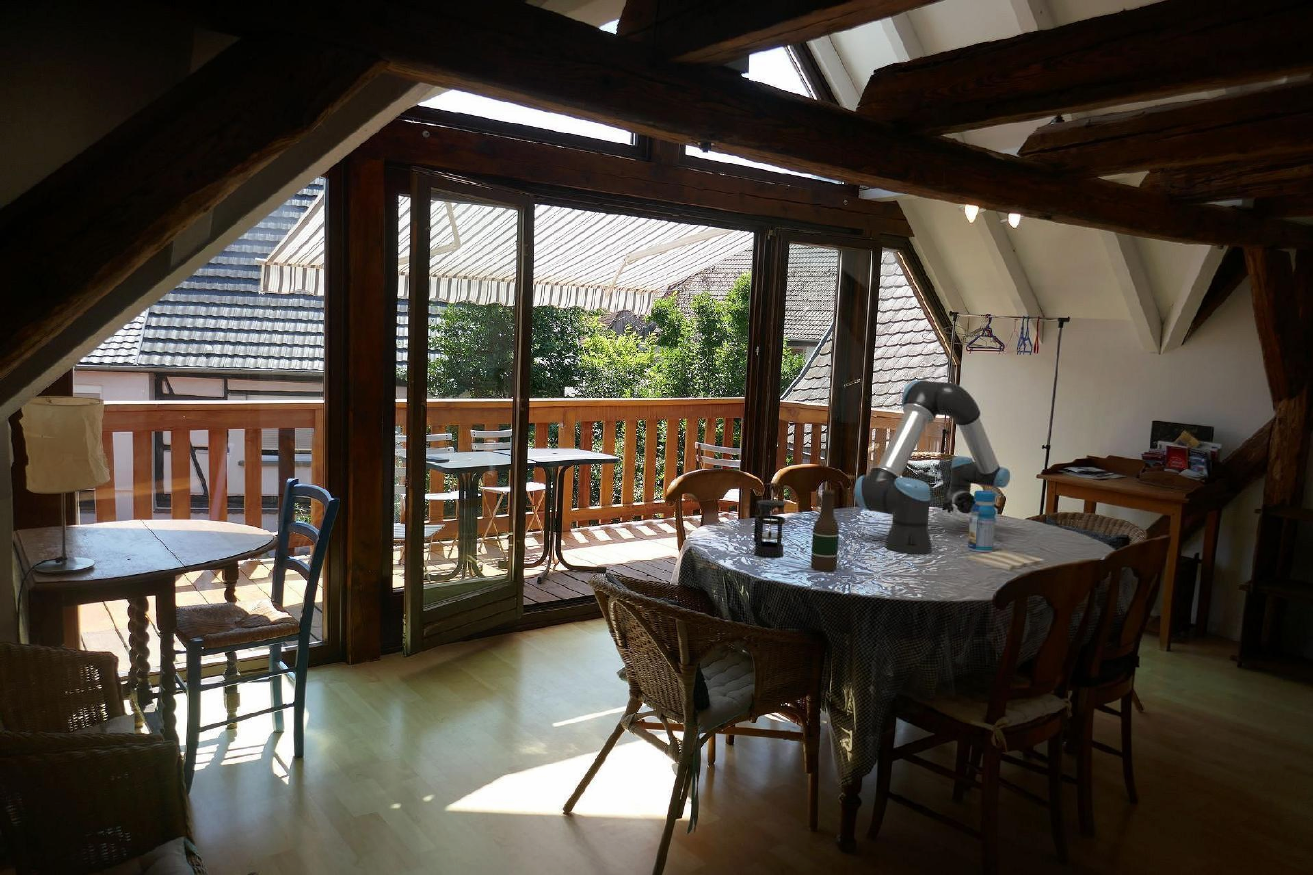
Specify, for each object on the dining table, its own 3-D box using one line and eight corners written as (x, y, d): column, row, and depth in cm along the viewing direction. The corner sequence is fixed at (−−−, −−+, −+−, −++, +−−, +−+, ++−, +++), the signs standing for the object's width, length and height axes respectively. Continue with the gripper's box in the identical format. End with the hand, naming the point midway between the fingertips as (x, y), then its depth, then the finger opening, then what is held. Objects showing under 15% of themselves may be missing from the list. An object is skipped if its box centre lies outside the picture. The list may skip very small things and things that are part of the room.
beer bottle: (805, 568, 288) (810, 489, 286) (820, 564, 294) (825, 487, 291) (826, 573, 283) (831, 493, 280) (841, 569, 288) (846, 490, 286)
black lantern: (791, 556, 302) (795, 484, 300) (769, 559, 297) (773, 486, 294) (765, 549, 312) (769, 479, 309) (744, 552, 306) (748, 481, 304)
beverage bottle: (986, 554, 318) (991, 494, 316) (962, 549, 324) (967, 491, 322) (997, 550, 324) (1002, 492, 322) (974, 546, 330) (978, 489, 328)
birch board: (1009, 569, 297) (1009, 566, 297) (967, 559, 309) (967, 556, 309) (1043, 562, 309) (1044, 559, 309) (1002, 553, 321) (1002, 550, 321)
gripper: (998, 514, 354) (1012, 525, 333) (929, 509, 357) (938, 520, 336) (999, 494, 353) (1013, 503, 333) (930, 489, 356) (940, 499, 336)
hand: (976, 512), depth 334 cm, fingers open, 13 cm apart
